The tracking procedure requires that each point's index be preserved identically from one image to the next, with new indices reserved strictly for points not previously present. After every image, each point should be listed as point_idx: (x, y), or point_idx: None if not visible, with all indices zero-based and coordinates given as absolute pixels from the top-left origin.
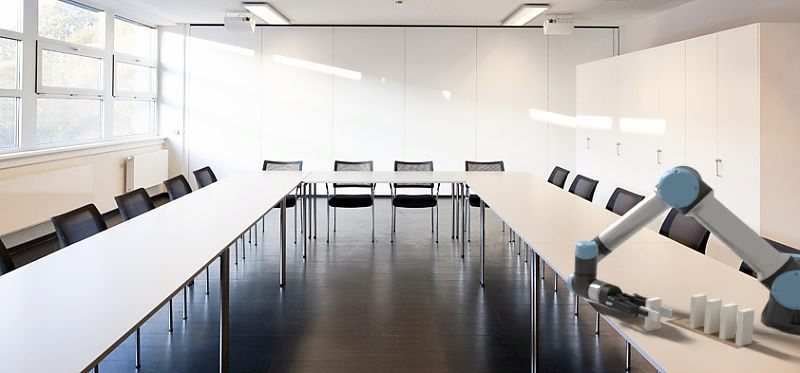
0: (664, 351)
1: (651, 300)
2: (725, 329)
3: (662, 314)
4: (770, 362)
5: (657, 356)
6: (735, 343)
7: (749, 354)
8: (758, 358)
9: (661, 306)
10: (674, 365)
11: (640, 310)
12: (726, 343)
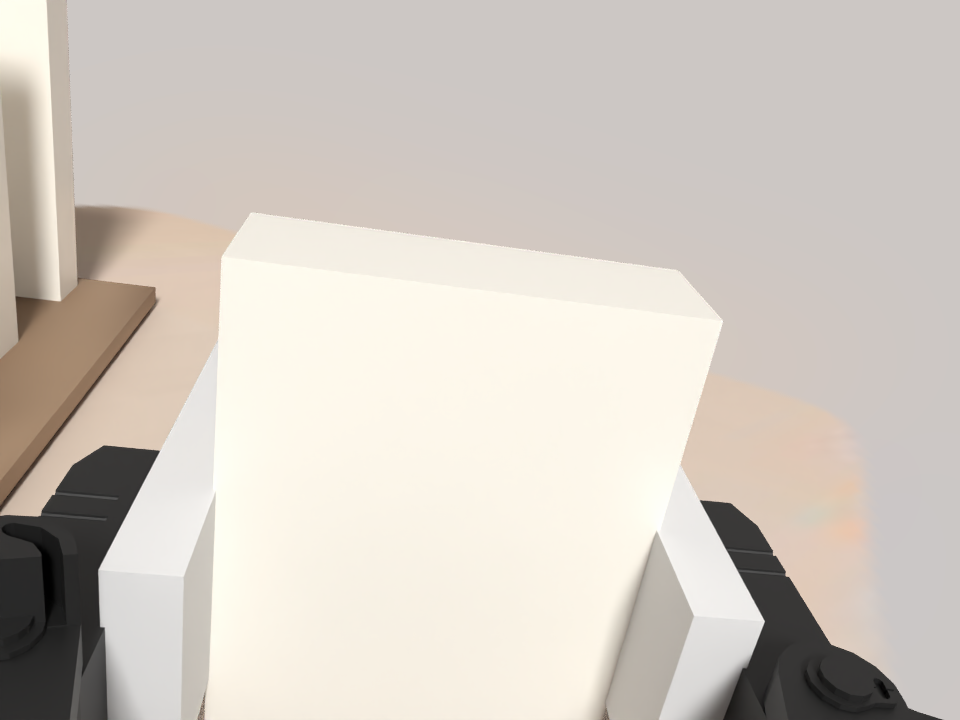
0: (707, 492)
1: (623, 268)
2: (6, 241)
3: None
4: (184, 237)
5: (826, 480)
6: (61, 296)
7: (149, 279)
8: (176, 259)
9: (209, 420)
10: (776, 398)
11: (801, 600)
12: (107, 323)
